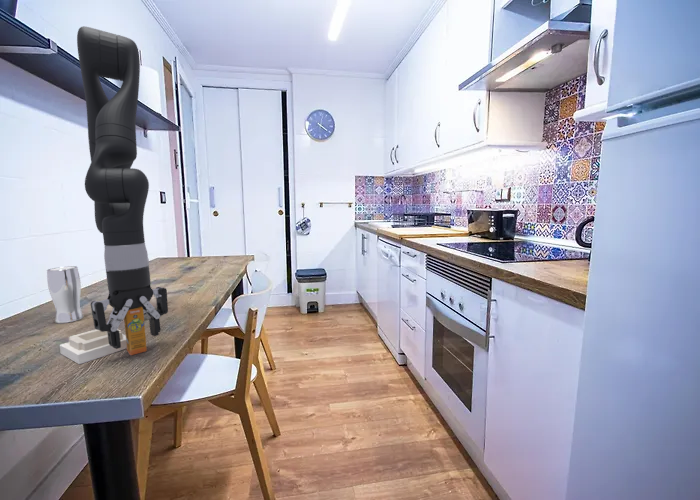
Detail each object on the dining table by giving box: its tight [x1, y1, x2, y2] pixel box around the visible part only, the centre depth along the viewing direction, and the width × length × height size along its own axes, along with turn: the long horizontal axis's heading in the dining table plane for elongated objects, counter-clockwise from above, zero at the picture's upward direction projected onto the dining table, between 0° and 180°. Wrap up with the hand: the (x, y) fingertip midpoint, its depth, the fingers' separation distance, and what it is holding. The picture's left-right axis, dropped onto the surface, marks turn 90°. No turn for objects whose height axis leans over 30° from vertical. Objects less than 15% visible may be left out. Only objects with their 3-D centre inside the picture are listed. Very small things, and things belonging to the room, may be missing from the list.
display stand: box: [59, 328, 127, 365], centre depth 73 cm, size 10×10×4 cm
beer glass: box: [46, 265, 84, 325], centre depth 93 cm, size 7×7×15 cm
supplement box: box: [123, 307, 148, 356], centre depth 71 cm, size 3×4×10 cm
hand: (136, 340), depth 71 cm, fingers open, 7 cm apart
